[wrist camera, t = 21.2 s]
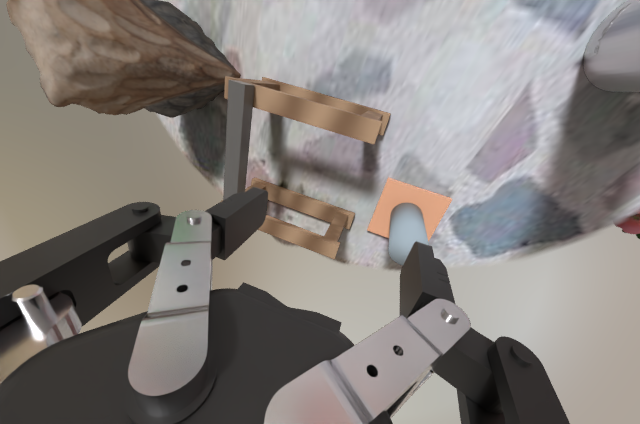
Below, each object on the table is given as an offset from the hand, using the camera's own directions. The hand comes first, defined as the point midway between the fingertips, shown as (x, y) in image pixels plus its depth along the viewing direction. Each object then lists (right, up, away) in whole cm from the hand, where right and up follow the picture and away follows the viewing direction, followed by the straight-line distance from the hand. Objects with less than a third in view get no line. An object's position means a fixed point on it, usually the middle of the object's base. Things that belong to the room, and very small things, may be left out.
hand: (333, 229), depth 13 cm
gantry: (-2, +10, +28) cm, 30 cm away
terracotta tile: (+14, +1, +28) cm, 31 cm away
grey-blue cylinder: (+13, 0, +27) cm, 30 cm away
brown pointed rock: (-21, +26, +27) cm, 43 cm away
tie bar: (-11, +7, +20) cm, 24 cm away
